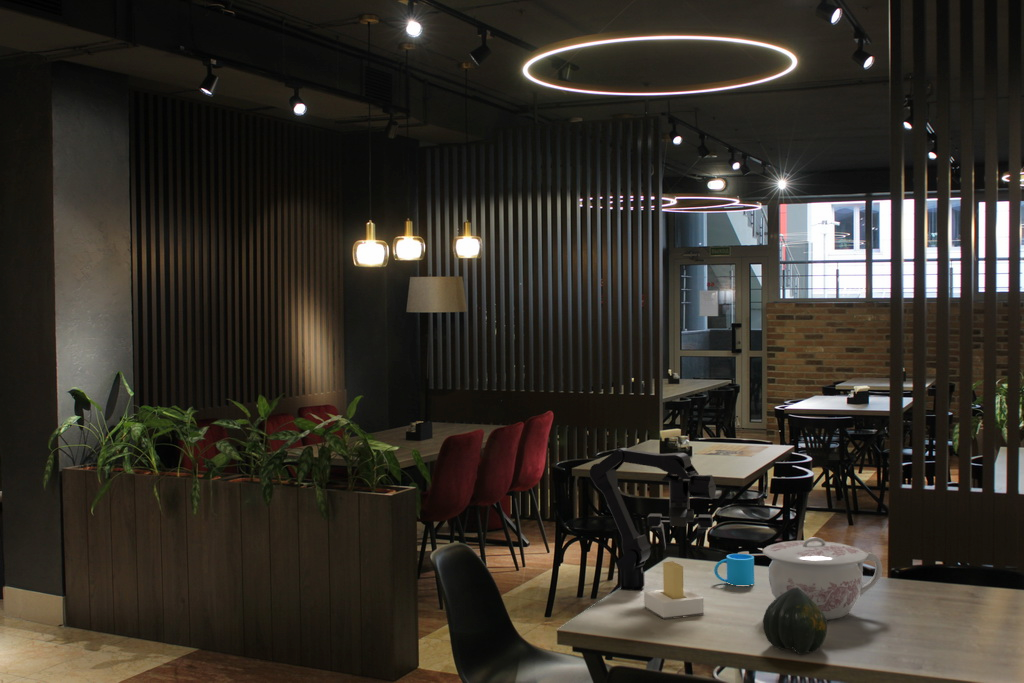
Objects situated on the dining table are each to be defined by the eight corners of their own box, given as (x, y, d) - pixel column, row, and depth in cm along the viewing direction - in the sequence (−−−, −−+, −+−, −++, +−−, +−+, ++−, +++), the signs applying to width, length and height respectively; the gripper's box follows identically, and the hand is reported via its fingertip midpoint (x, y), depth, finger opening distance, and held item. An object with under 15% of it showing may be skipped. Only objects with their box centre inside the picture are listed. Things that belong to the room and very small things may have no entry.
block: (663, 607, 279) (663, 562, 279) (673, 606, 280) (672, 561, 280) (674, 612, 274) (673, 567, 274) (683, 611, 275) (683, 566, 275)
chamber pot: (744, 615, 272) (743, 539, 272) (792, 594, 292) (791, 523, 292) (843, 635, 253) (842, 553, 253) (887, 611, 273) (886, 535, 273)
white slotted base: (644, 607, 281) (644, 591, 281) (682, 603, 285) (682, 587, 285) (663, 619, 270) (663, 602, 270) (703, 614, 273) (703, 598, 273)
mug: (751, 579, 310) (750, 553, 310) (756, 586, 301) (756, 559, 301) (712, 580, 310) (711, 553, 310) (716, 587, 302) (716, 560, 302)
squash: (783, 640, 233) (814, 586, 237) (742, 626, 246) (772, 575, 251) (820, 674, 237) (850, 620, 242) (778, 658, 251) (807, 607, 255)
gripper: (644, 500, 288) (645, 555, 289) (711, 501, 284) (712, 557, 284) (648, 494, 299) (649, 546, 299) (712, 495, 295) (713, 548, 295)
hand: (680, 549), depth 294 cm, fingers open, 9 cm apart
